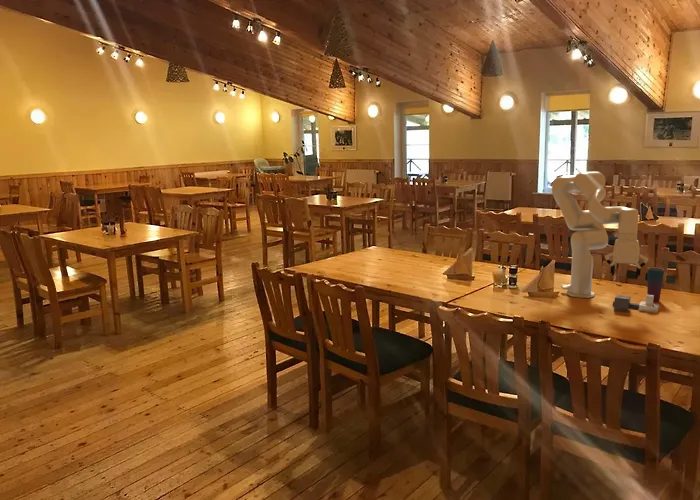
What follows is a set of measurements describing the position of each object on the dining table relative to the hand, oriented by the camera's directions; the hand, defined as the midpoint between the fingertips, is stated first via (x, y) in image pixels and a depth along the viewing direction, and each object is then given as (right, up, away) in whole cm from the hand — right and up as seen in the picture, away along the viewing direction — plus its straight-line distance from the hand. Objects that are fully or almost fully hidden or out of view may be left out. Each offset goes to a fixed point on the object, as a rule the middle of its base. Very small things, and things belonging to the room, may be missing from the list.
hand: (625, 275), depth 256 cm
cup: (+21, -12, +17) cm, 30 cm away
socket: (0, -15, +3) cm, 16 cm away
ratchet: (+7, -15, +6) cm, 18 cm away
